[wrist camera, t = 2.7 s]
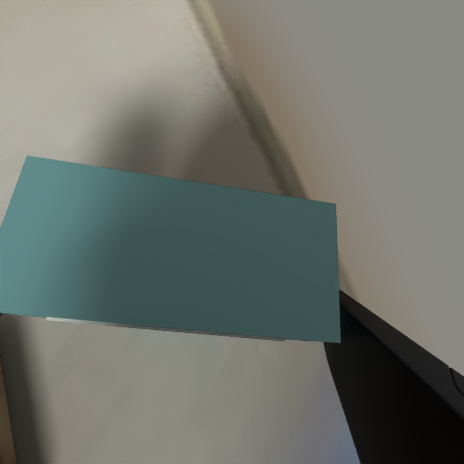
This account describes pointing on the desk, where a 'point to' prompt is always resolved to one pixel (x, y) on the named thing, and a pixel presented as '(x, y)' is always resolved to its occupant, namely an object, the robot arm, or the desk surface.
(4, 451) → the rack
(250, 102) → the desk surface
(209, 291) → the teal labeled box
